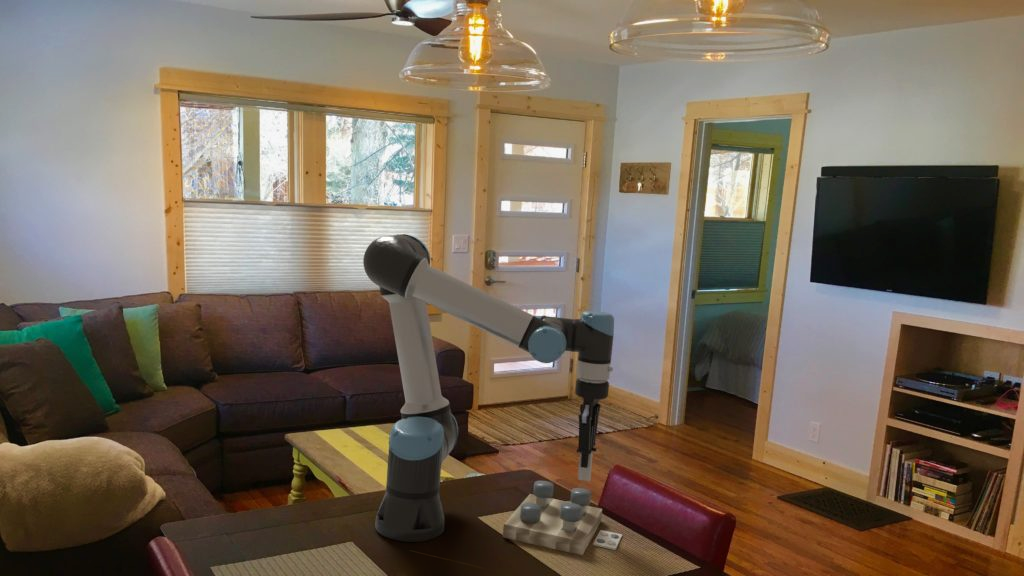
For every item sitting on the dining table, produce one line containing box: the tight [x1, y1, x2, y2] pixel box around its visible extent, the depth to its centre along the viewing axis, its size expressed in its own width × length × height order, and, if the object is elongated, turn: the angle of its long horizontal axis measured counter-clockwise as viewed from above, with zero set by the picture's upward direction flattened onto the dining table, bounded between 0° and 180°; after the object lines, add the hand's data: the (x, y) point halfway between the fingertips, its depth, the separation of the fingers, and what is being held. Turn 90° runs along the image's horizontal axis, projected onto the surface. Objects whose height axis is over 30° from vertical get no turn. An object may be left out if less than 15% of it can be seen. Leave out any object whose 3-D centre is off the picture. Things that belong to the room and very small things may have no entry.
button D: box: [569, 487, 592, 516], centre depth 174 cm, size 5×5×6 cm
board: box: [502, 493, 603, 556], centre depth 171 cm, size 18×20×3 cm
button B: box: [533, 480, 555, 508], centre depth 177 cm, size 5×5×6 cm
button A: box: [520, 503, 541, 524], centre depth 167 cm, size 5×5×6 cm
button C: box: [560, 503, 582, 532], centre depth 165 cm, size 5×5×6 cm
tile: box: [592, 529, 623, 551], centre depth 167 cm, size 5×8×1 cm, turn 162°
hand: (584, 479), depth 173 cm, fingers closed
